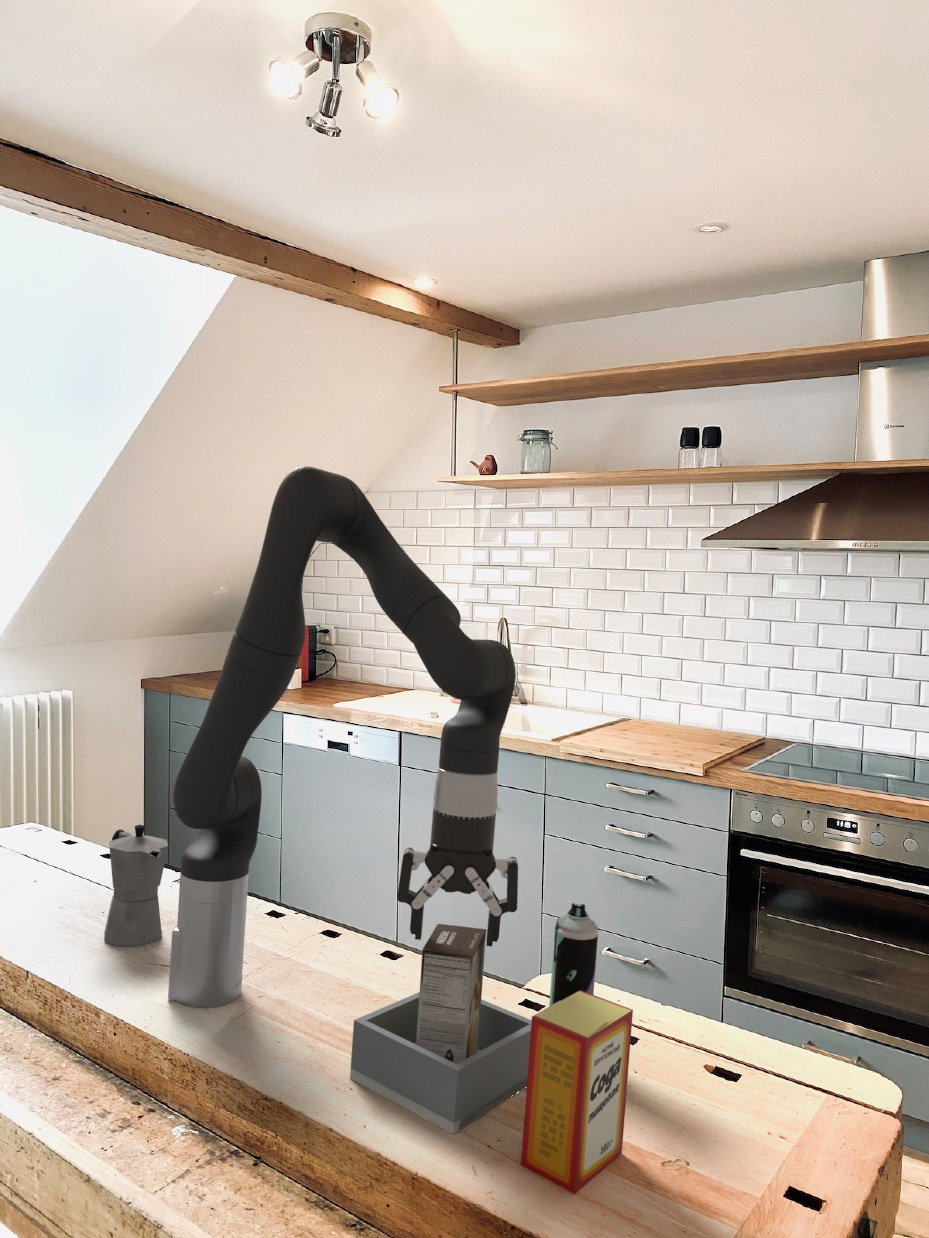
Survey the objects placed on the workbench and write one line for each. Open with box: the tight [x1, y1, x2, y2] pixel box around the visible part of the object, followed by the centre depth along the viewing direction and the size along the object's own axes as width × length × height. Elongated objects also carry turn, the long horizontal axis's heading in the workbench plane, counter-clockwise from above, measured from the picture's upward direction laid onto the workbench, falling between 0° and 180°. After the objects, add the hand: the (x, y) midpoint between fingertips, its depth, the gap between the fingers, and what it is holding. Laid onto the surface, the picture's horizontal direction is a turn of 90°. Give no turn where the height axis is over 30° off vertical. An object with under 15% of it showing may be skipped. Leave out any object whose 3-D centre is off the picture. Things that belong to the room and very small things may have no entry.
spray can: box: [548, 902, 599, 1007], centre depth 121 cm, size 6×6×20 cm
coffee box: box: [416, 923, 487, 1064], centre depth 113 cm, size 9×6×16 cm
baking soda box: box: [520, 990, 634, 1195], centre depth 99 cm, size 10×6×16 cm
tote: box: [349, 991, 532, 1135], centre depth 113 cm, size 16×16×7 cm
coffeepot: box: [104, 824, 169, 948], centre depth 151 cm, size 15×9×18 cm, turn 44°
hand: (454, 940), depth 113 cm, fingers open, 8 cm apart
